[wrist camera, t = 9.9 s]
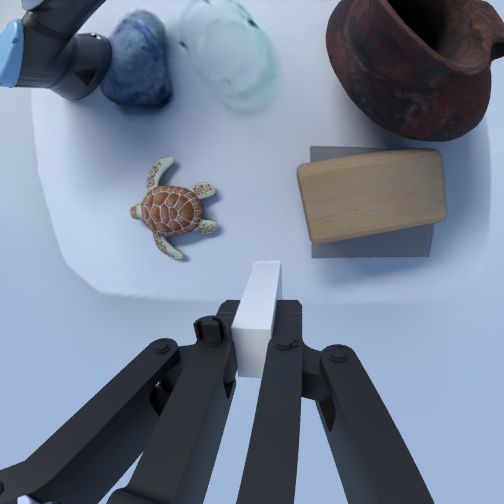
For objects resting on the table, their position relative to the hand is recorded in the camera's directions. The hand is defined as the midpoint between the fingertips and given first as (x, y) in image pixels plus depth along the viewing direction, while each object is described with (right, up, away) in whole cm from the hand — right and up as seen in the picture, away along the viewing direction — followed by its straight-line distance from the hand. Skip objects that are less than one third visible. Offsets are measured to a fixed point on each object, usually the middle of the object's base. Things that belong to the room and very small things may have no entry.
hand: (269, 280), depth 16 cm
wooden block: (+6, +9, +21) cm, 23 cm away
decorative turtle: (-15, +10, +30) cm, 35 cm away
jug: (+22, +31, +15) cm, 41 cm away
